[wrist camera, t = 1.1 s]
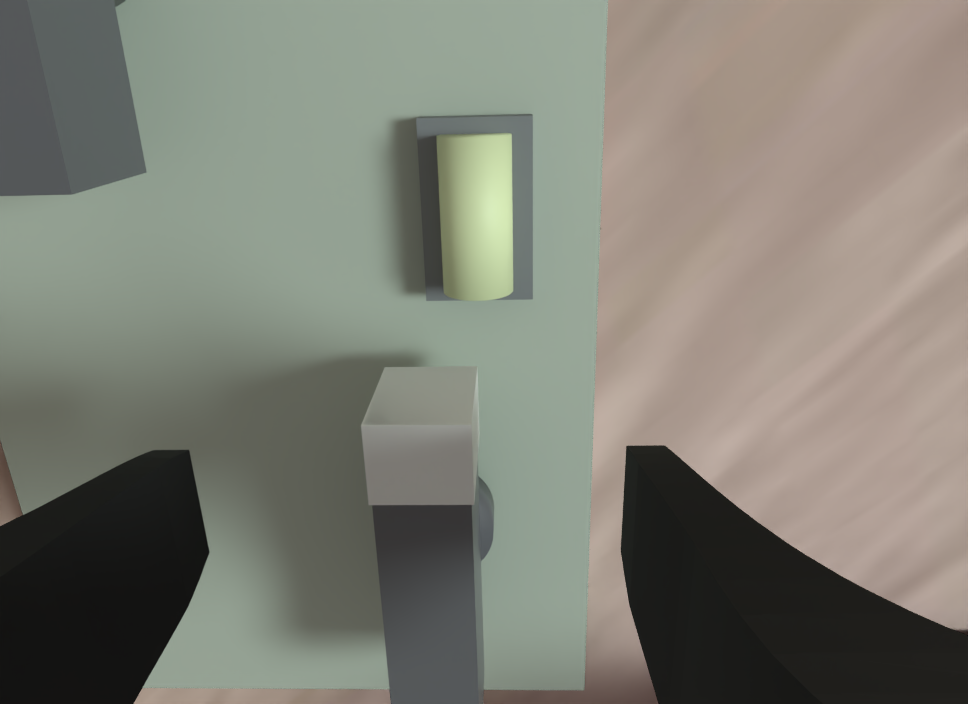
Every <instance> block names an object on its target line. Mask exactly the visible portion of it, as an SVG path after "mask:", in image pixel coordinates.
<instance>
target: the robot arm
mask: <svg viewBox="0 0 968 704" xmlns="http://www.w3.org/2000/svg"><path fill="white" fill-rule="evenodd" d="M209 553H210V552H209V547H208V542H207V537H206V532H205V527H204V522H203V517H202V512H201V507H200V502H199V497H198V492H197V487H196V481H195V476H194V471H193V466H192V461H191V456H190V451H189V450H152V451H149V452H147V453H144V454H142V455H139V456H137V457H135V458H133V459H131V460H128V461H126V462H124V463H122V464H120V465H118V466H116V467H114V468H112V469H110V470H108V471H107V472H105V473H103V474H101V475H99V476H97V477H95V478H93V479H91V480H89V481H88V482H86V483H84V484H82V485H80V486H78V487H76V488H74V489H72V490H71V491H69V492H67V493H65V494H63V495H61V496H59V497H57V498H55V499H54V500H52V501H50V502H48V503H46V504H44V505H42V506H40V507H38V508H36V509H34V510H32V511H30V512H28V513H26V514H24V515H22V516H20V517H18V518H16V519H14V520H12V521H10V522H8V523H6V524H4V525H2V526H0V704H133V703H134V702H135V700H136V698H137V696H138V695H139V693H140V691H141V689H142V688H143V686H144V684H145V682H146V681H147V679H148V677H149V675H150V674H151V672H152V670H153V668H154V667H155V665H156V663H157V662H158V660H159V658H160V656H161V655H162V653H163V651H164V649H165V648H166V646H167V644H168V642H169V641H170V639H171V637H172V635H173V633H174V632H175V630H176V628H177V626H178V624H179V623H180V621H181V619H182V617H183V615H184V614H185V612H186V610H187V608H188V606H189V604H190V602H191V599H192V597H193V594H194V592H195V589H196V587H197V585H198V582H199V580H200V577H201V574H202V572H203V569H204V566H205V563H206V561H207V558H208V555H209ZM621 555H622V561H623V568H624V575H625V581H626V587H627V593H628V599H629V605H630V608H631V612H632V615H633V619H634V622H635V626H636V629H637V633H638V636H639V639H640V643H641V646H642V650H643V653H644V656H645V660H646V663H647V666H648V670H649V673H650V676H651V680H652V683H653V686H654V690H655V693H656V697H657V700H658V703H659V704H968V636H967V635H965V634H962V633H960V632H957V631H955V630H952V629H950V628H947V627H945V626H943V625H940V624H938V623H936V622H934V621H931V620H929V619H927V618H924V617H922V616H920V615H918V614H915V613H913V612H911V611H909V610H907V609H905V608H903V607H901V606H899V605H897V604H895V603H893V602H890V601H888V600H886V599H884V598H882V597H880V596H878V595H876V594H874V593H872V592H870V591H868V590H866V589H864V588H862V587H860V586H859V585H857V584H855V583H853V582H851V581H849V580H847V579H846V578H844V577H842V576H840V575H838V574H837V573H835V572H833V571H832V570H830V569H828V568H827V567H825V566H823V565H822V564H820V563H818V562H817V561H815V560H813V559H812V558H810V557H808V556H806V555H805V554H803V553H802V552H800V551H799V550H797V549H795V548H794V547H792V546H791V545H789V544H788V543H786V542H785V541H783V540H782V539H781V538H779V537H778V536H776V535H775V534H774V533H772V532H771V531H769V530H768V529H766V528H765V527H764V526H762V525H761V524H759V523H758V522H757V521H755V520H754V519H753V518H751V517H750V516H749V515H747V514H746V513H745V512H743V511H742V510H741V509H740V508H738V507H737V506H736V505H734V504H733V503H732V502H731V501H729V500H728V499H727V498H726V497H725V496H723V495H722V494H721V493H720V492H718V491H717V490H716V489H715V488H714V487H713V486H711V485H710V484H709V483H708V482H707V481H705V480H704V479H703V478H702V477H701V476H700V475H699V474H697V473H696V472H695V471H694V470H693V469H692V468H690V467H689V466H688V465H687V464H686V463H685V462H684V461H682V460H681V459H680V458H679V457H678V456H677V455H676V454H674V453H673V452H672V451H671V450H670V449H668V448H667V447H666V446H627V447H626V465H625V484H624V502H623V521H622V539H621Z"/></svg>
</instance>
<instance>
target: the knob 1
mask: <svg viewBox="0 0 968 704" xmlns="http://www.w3.org/2000/svg"><path fill="white" fill-rule="evenodd" d="M124 1H126V0H0V196H32V195H73V194H76V193H79V192H83V191H86V190H89V189H93V188H96V187H100V186H103V185H106V184H110V183H113V182H116V181H120V180H123V179H127V178H130V177H133V176H137V175H140V174H143V173H147V171H146V166H145V161H144V155H143V150H142V145H141V140H140V134H139V129H138V124H137V119H136V113H135V108H134V103H133V98H132V92H131V87H130V82H129V77H128V71H127V66H126V61H125V56H124V50H123V45H122V40H121V35H120V29H119V24H118V19H117V14H116V8H115V7H116V6H118V5H120V4H121V3H123V2H124Z"/></svg>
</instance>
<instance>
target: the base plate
mask: <svg viewBox="0 0 968 704" xmlns="http://www.w3.org/2000/svg"><path fill="white" fill-rule="evenodd" d="M115 8H116V14H117V19H118V24H119V29H120V35H121V40H122V45H123V50H124V56H125V61H126V66H127V71H128V77H129V82H130V87H131V92H132V98H133V103H134V108H135V113H136V119H137V124H138V129H139V134H140V140H141V145H142V150H143V155H144V161H145V166H146V171H147V173H143V174H140V175H137V176H133V177H130V178H127V179H123V180H120V181H116V182H113V183H110V184H106V185H103V186H100V187H96V188H93V189H89V190H86V191H83V192H79V193H76V194H73V195H32V196H0V441H1V444H2V448H3V451H4V454H5V457H6V461H7V464H8V467H9V471H10V474H11V477H12V480H13V484H14V487H15V490H16V494H17V497H18V500H19V504H20V507H21V510H22V513H23V515H24V514H26V513H28V512H30V511H32V510H34V509H36V508H38V507H40V506H42V505H44V504H46V503H48V502H50V501H52V500H54V499H55V498H57V497H59V496H61V495H63V494H65V493H67V492H69V491H71V490H72V489H74V488H76V487H78V486H80V485H82V484H84V483H86V482H88V481H89V480H91V479H93V478H95V477H97V476H99V475H101V474H103V473H105V472H107V471H108V470H110V469H112V468H114V467H116V466H118V465H120V464H122V463H124V462H126V461H128V460H131V459H133V458H135V457H137V456H139V455H142V454H144V453H147V452H149V451H152V450H189V451H190V456H191V461H192V466H193V471H194V476H195V481H196V487H197V492H198V497H199V502H200V507H201V512H202V517H203V522H204V527H205V532H206V537H207V542H208V547H209V552H210V553H209V555H208V558H207V561H206V563H205V566H204V569H203V572H202V574H201V577H200V580H199V582H198V585H197V587H196V589H195V592H194V594H193V597H192V599H191V602H190V604H189V606H188V608H187V610H186V612H185V614H184V615H183V617H182V619H181V621H180V623H179V624H178V626H177V628H176V630H175V632H174V633H173V635H172V637H171V639H170V641H169V642H168V644H167V646H166V648H165V649H164V651H163V653H162V655H161V656H160V658H159V660H158V662H157V663H156V665H155V667H154V668H153V670H152V672H151V674H150V675H149V677H148V679H147V681H146V682H145V684H144V686H143V688H252V689H389V678H388V668H387V657H386V647H385V636H384V626H383V615H382V605H381V594H380V584H379V573H378V563H377V552H376V542H375V531H374V521H373V510H372V505H369V504H368V493H367V483H366V473H365V463H364V452H363V442H362V432H361V424H362V422H363V419H364V417H365V414H366V412H367V410H368V407H369V405H370V402H371V400H372V397H373V395H374V392H375V390H376V387H377V385H378V383H379V380H380V378H381V375H382V373H383V370H384V368H385V367H445V366H477V369H478V402H479V435H480V436H479V449H478V476H479V477H480V478H481V479H482V480H483V481H484V482H485V483H486V485H487V486H488V488H489V489H490V491H491V494H492V496H493V500H494V533H493V541H492V545H491V548H490V550H489V552H488V554H487V555H486V556H485V558H484V559H483V560H482V561H481V576H482V608H483V639H484V690H584V686H585V656H586V627H587V597H588V568H589V539H590V509H591V480H592V451H593V421H594V392H595V363H596V333H597V304H598V275H599V245H600V216H601V187H602V157H603V128H604V98H605V69H606V40H607V10H608V0H126V1H124V2H123V3H121V4H120V5H118V6H116V7H115Z"/></svg>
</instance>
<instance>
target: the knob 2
mask: <svg viewBox="0 0 968 704" xmlns="http://www.w3.org/2000/svg"><path fill="white" fill-rule="evenodd" d="M361 432H362V442H363V452H364V463H365V473H366V483H367V493H368V504H369V505H372V510H373V521H374V531H375V542H376V552H377V563H378V573H379V584H380V594H381V605H382V615H383V626H384V636H385V647H386V657H387V668H388V678H389V689H390V699H391V704H483V696H484V639H483V608H482V576H481V561H482V560H483V559H484V558H485V556H486V555H487V554H488V552H489V550H490V548H491V545H492V541H493V533H494V500H493V496H492V494H491V491H490V489H489V488H488V486H487V485H486V483H485V482H484V481H483V480H482V479H481V478H480V477H479V476H478V449H479V436H480V435H479V402H478V369H477V366H445V367H385V368H384V370H383V373H382V375H381V378H380V380H379V383H378V385H377V387H376V390H375V392H374V395H373V397H372V400H371V402H370V405H369V407H368V410H367V412H366V414H365V417H364V419H363V422H362V424H361Z"/></svg>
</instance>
